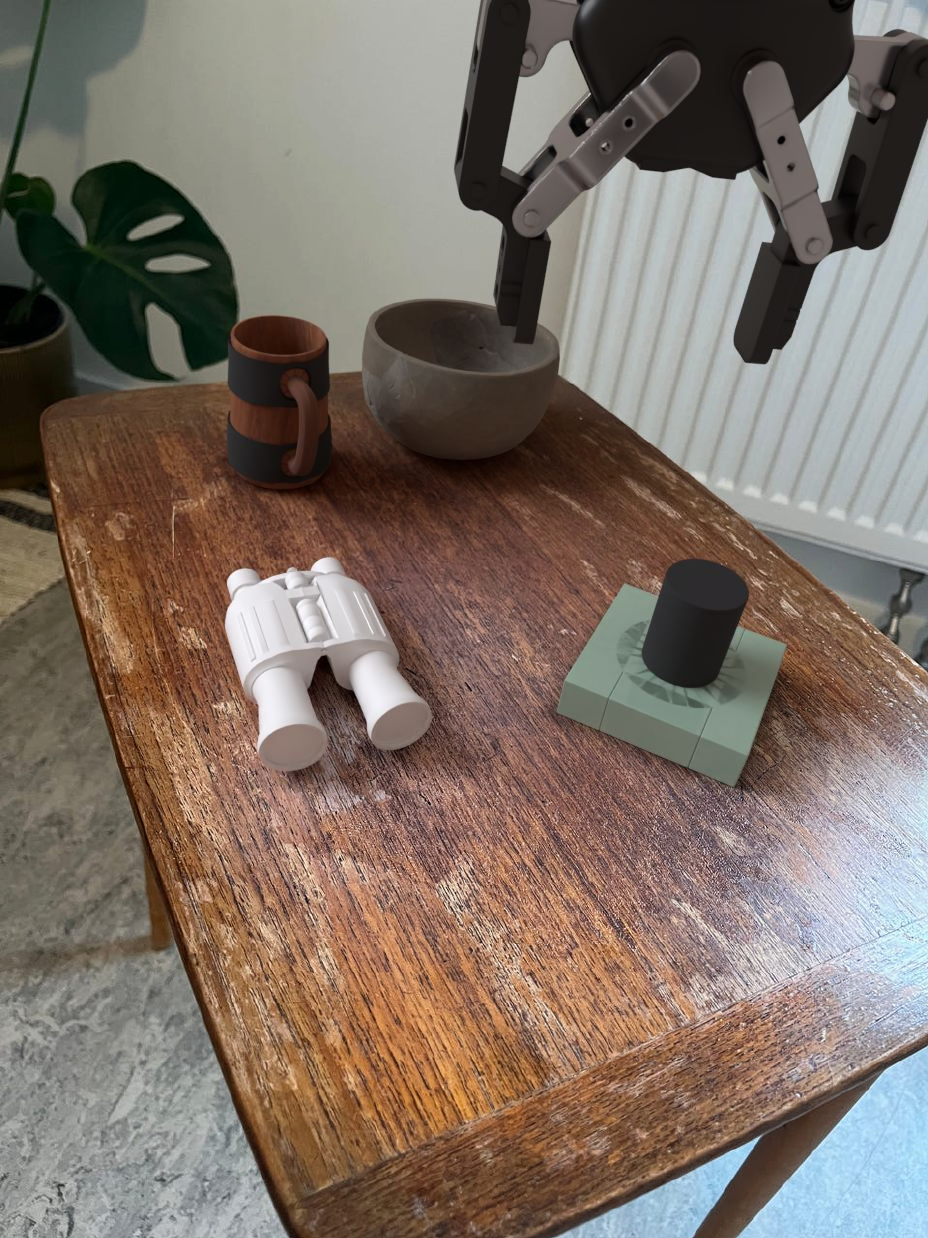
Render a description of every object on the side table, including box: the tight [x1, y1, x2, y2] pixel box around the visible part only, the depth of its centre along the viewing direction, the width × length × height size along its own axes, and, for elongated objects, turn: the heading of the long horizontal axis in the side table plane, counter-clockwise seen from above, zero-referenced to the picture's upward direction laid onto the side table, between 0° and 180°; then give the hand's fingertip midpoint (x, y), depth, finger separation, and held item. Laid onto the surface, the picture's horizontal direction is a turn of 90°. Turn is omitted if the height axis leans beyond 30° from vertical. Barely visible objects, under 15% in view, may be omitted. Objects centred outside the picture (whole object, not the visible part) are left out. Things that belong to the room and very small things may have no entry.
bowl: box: [361, 298, 561, 461], centre depth 86 cm, size 17×18×10 cm
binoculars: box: [224, 557, 433, 772], centre depth 61 cm, size 10×16×5 cm, turn 21°
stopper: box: [642, 558, 750, 688], centre depth 62 cm, size 5×5×9 cm
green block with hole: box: [556, 583, 788, 788], centre depth 65 cm, size 12×12×3 cm
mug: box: [226, 314, 333, 490], centre depth 77 cm, size 9×12×12 cm
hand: (636, 345), depth 35 cm, fingers open, 8 cm apart
